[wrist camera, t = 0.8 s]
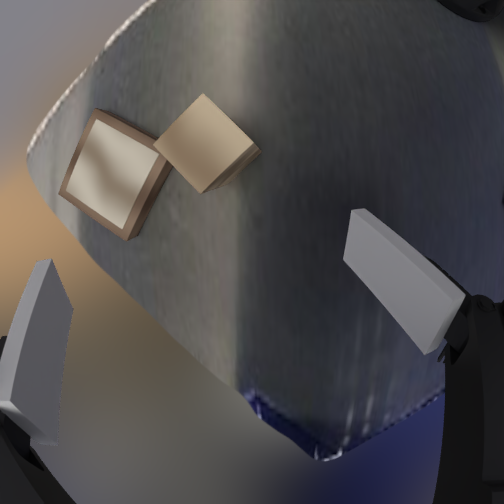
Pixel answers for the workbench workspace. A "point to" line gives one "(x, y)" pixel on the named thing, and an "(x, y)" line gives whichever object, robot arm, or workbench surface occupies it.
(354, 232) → the robot arm
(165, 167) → the plinth
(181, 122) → the oak block
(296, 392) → the workbench surface
